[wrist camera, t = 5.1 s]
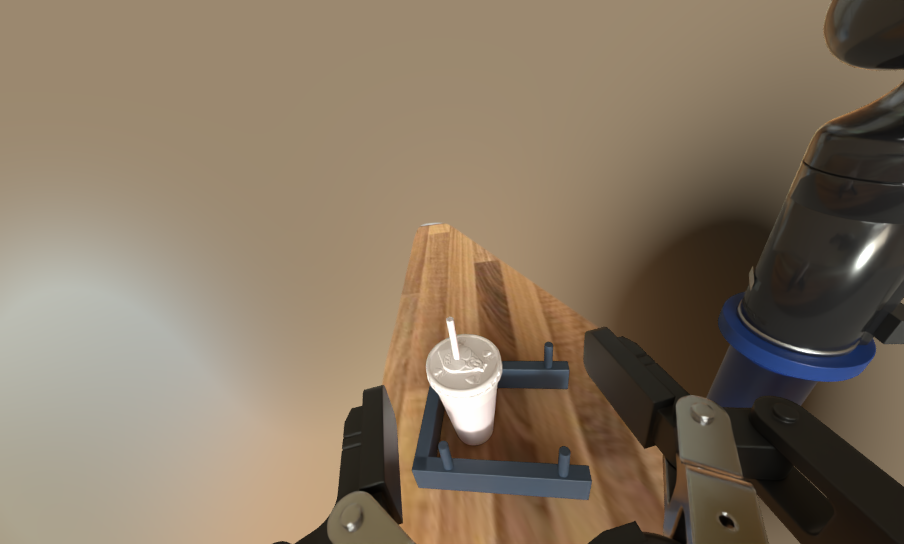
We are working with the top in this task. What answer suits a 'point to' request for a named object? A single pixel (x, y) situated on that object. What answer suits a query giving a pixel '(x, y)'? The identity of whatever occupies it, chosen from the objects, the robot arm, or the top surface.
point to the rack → (500, 474)
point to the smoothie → (466, 382)
